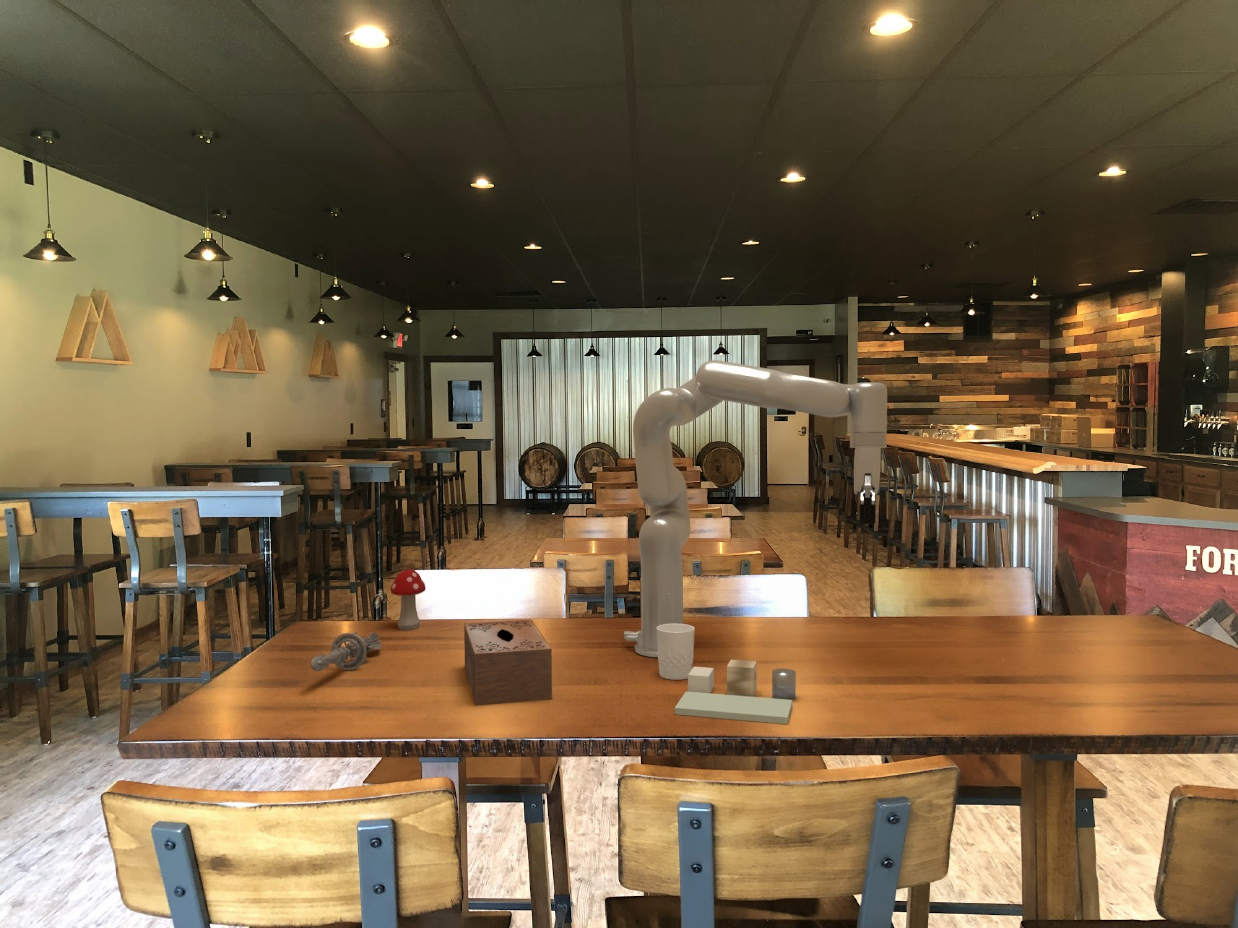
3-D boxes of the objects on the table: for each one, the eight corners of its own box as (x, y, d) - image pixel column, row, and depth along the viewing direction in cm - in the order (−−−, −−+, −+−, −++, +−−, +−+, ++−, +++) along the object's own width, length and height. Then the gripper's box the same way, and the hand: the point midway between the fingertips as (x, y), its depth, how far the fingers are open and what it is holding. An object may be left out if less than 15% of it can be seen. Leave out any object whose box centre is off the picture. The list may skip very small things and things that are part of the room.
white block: (687, 695, 171) (687, 674, 171) (693, 686, 177) (693, 666, 177) (708, 696, 170) (708, 676, 170) (713, 687, 176) (713, 667, 176)
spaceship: (286, 653, 172) (323, 638, 172) (356, 630, 207) (387, 617, 206) (300, 692, 172) (337, 677, 171) (368, 662, 206) (399, 650, 206)
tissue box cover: (464, 669, 190) (464, 623, 190) (531, 664, 194) (531, 619, 193) (475, 707, 165) (474, 653, 165) (552, 700, 169) (551, 648, 168)
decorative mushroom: (400, 622, 233) (399, 565, 232) (431, 623, 232) (430, 566, 231) (385, 631, 223) (384, 572, 223) (417, 632, 222) (417, 573, 221)
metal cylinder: (770, 700, 168) (771, 673, 168) (773, 693, 172) (773, 667, 172) (794, 702, 167) (794, 675, 166) (796, 695, 171) (796, 669, 171)
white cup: (698, 671, 187) (698, 624, 186) (689, 682, 179) (689, 633, 179) (662, 668, 189) (662, 622, 189) (651, 678, 182) (651, 630, 181)
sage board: (674, 714, 160) (674, 707, 160) (685, 697, 169) (685, 691, 169) (787, 724, 154) (787, 717, 154) (792, 706, 164) (792, 699, 164)
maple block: (726, 697, 170) (726, 666, 169) (730, 689, 175) (731, 659, 174) (753, 699, 168) (753, 668, 168) (756, 691, 173) (756, 661, 173)
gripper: (850, 439, 198) (850, 516, 199) (849, 441, 181) (848, 525, 182) (885, 440, 196) (885, 517, 197) (887, 441, 179) (886, 526, 180)
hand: (867, 521), depth 190 cm, fingers open, 9 cm apart
